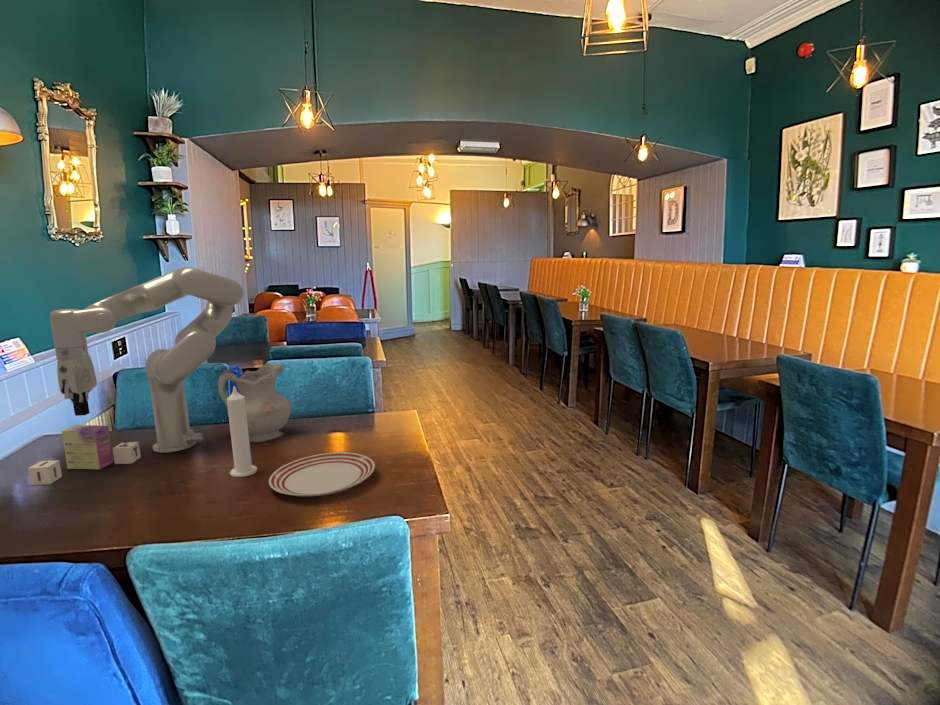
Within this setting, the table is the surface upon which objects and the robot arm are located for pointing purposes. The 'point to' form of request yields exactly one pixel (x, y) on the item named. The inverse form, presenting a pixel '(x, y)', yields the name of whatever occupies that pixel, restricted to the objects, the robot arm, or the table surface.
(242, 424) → the candle
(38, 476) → the block one
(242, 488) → the table surface
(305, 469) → the dinner plate
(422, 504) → the table surface
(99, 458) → the box
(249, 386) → the ceramic pitcher
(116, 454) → the block seven
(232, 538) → the table surface
